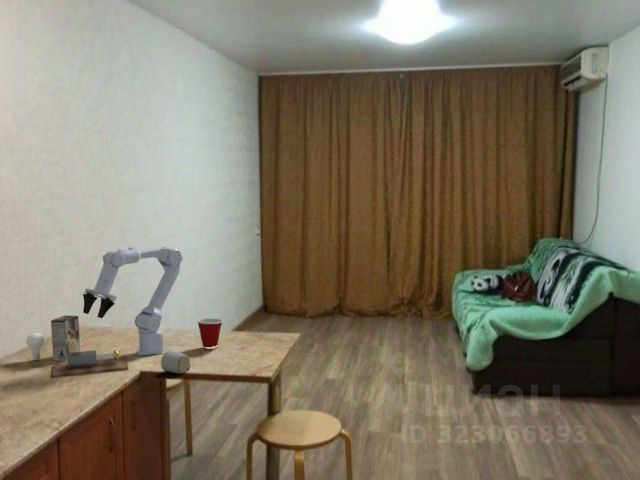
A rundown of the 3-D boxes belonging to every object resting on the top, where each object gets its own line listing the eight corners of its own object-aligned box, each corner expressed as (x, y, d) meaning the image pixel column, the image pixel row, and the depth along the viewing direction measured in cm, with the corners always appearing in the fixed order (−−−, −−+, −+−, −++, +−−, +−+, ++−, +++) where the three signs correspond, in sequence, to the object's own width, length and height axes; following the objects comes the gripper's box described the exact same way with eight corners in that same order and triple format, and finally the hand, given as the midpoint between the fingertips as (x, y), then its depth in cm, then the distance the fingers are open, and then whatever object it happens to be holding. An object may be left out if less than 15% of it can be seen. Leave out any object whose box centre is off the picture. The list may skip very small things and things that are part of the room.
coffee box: (66, 353, 252) (64, 314, 250) (80, 354, 250) (79, 315, 249) (52, 360, 243) (50, 320, 241) (67, 361, 242) (65, 321, 240)
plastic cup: (229, 346, 262) (228, 318, 261) (211, 353, 253) (210, 324, 251) (209, 342, 268) (209, 315, 266) (191, 348, 259) (191, 320, 257)
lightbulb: (49, 359, 244) (47, 331, 243) (35, 363, 239) (34, 335, 237) (37, 357, 247) (36, 330, 246) (23, 361, 241) (22, 333, 240)
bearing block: (96, 362, 237) (96, 350, 237) (96, 366, 232) (96, 354, 231) (68, 365, 234) (67, 352, 233) (67, 369, 228) (67, 357, 228)
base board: (126, 358, 245) (126, 356, 245) (128, 369, 232) (128, 366, 232) (54, 366, 236) (54, 363, 236) (52, 377, 223) (52, 374, 223)
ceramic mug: (179, 376, 224) (178, 355, 223) (160, 373, 227) (160, 353, 227) (196, 368, 234) (196, 348, 233) (178, 365, 237) (178, 346, 236)
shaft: (118, 358, 239) (118, 349, 238) (119, 361, 235) (118, 351, 235) (73, 362, 233) (73, 353, 233) (73, 365, 230) (73, 356, 230)
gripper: (84, 274, 236) (71, 309, 233) (112, 282, 230) (99, 317, 227) (97, 279, 242) (84, 313, 239) (124, 287, 236) (112, 321, 233)
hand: (92, 315), depth 233 cm, fingers open, 7 cm apart
